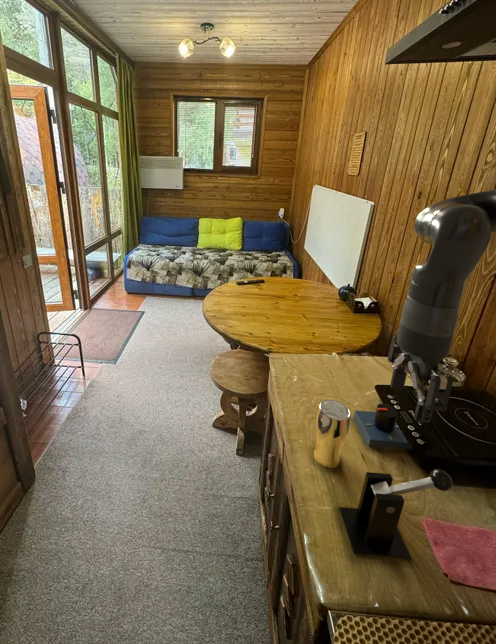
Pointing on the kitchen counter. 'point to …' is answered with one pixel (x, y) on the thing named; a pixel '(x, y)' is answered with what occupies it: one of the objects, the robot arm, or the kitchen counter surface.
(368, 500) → the bracket
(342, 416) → the beer glass
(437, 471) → the tap lever
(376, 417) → the knob
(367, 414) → the valve panel
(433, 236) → the robot arm
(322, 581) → the kitchen counter surface
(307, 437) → the kitchen counter surface
